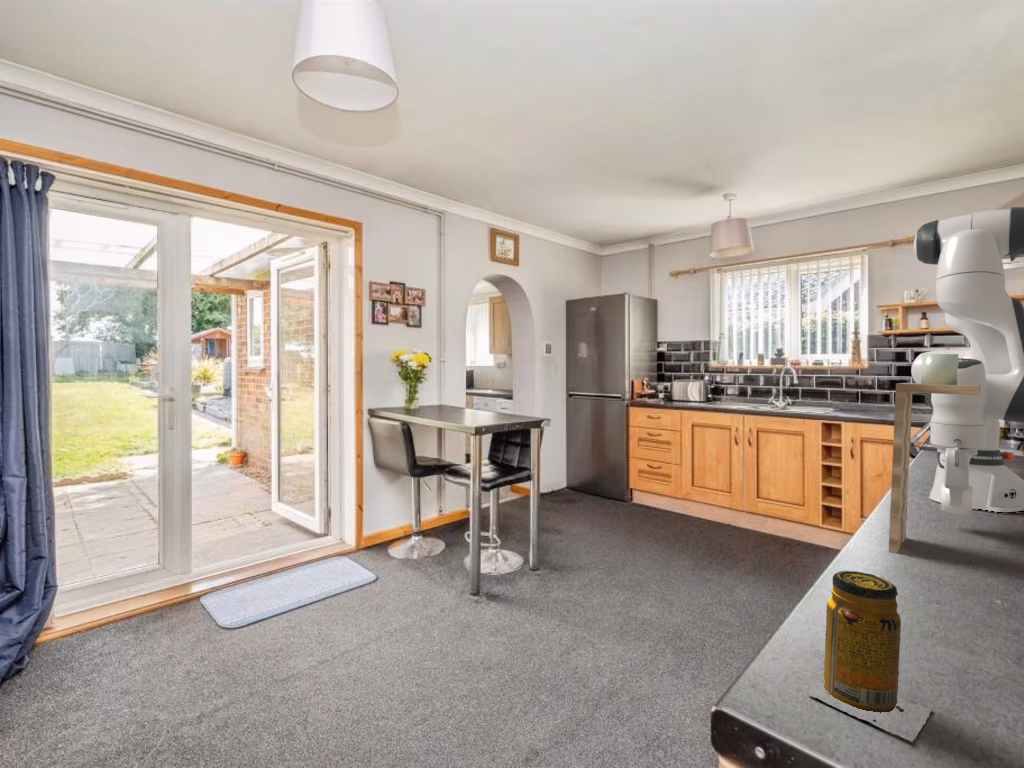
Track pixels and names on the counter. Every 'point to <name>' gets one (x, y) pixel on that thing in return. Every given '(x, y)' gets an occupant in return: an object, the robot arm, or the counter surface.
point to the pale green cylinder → (939, 369)
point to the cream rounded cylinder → (966, 502)
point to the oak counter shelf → (903, 451)
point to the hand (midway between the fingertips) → (955, 502)
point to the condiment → (862, 642)
